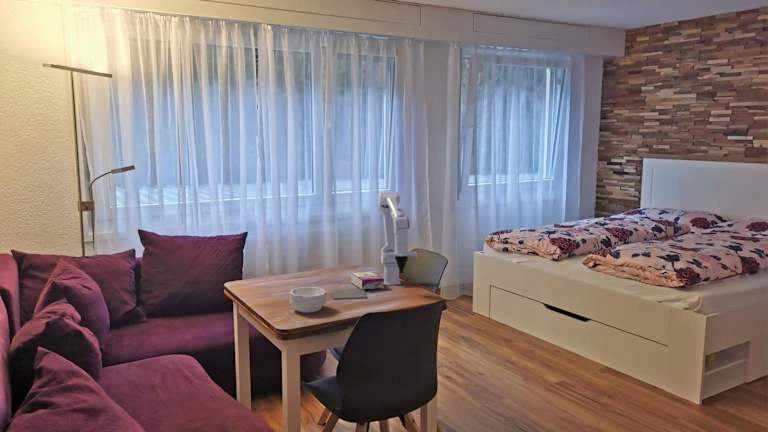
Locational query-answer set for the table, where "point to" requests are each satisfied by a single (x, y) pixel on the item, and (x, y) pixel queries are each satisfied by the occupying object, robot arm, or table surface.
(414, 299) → the table surface
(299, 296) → the paper bowls
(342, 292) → the mat
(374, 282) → the candy bar box
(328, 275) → the table surface
